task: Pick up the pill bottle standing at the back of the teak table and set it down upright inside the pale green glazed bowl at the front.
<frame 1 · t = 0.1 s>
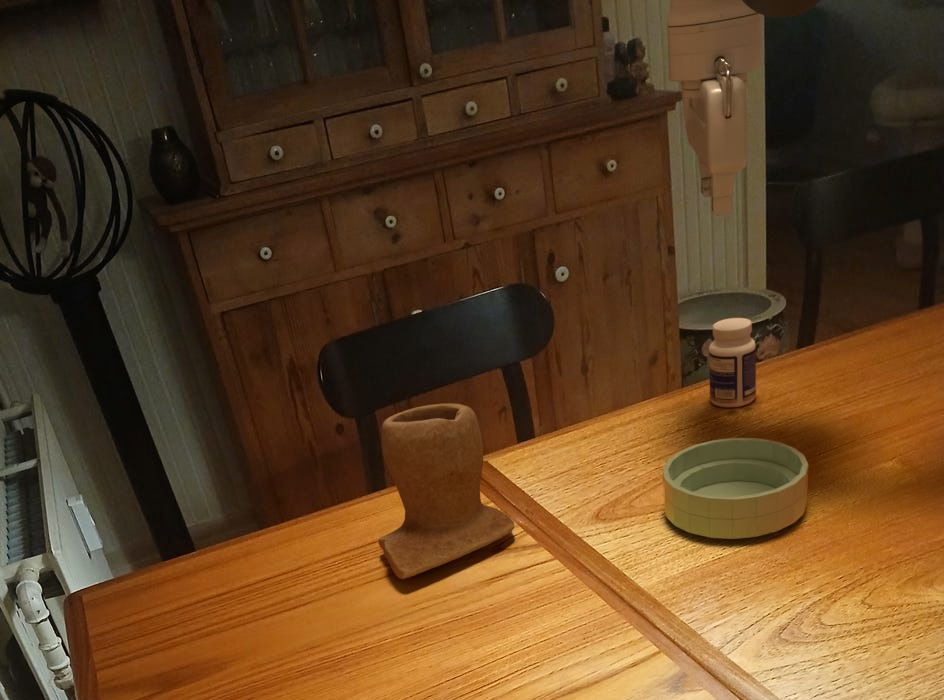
hand: (715, 204, 104), 26 cm above the table, tool pointing down, fingers open, 8 cm apart
pill bottle: (732, 401, 127), on the table
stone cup: (442, 548, 106), on the table
bowl: (734, 510, 103), on the table
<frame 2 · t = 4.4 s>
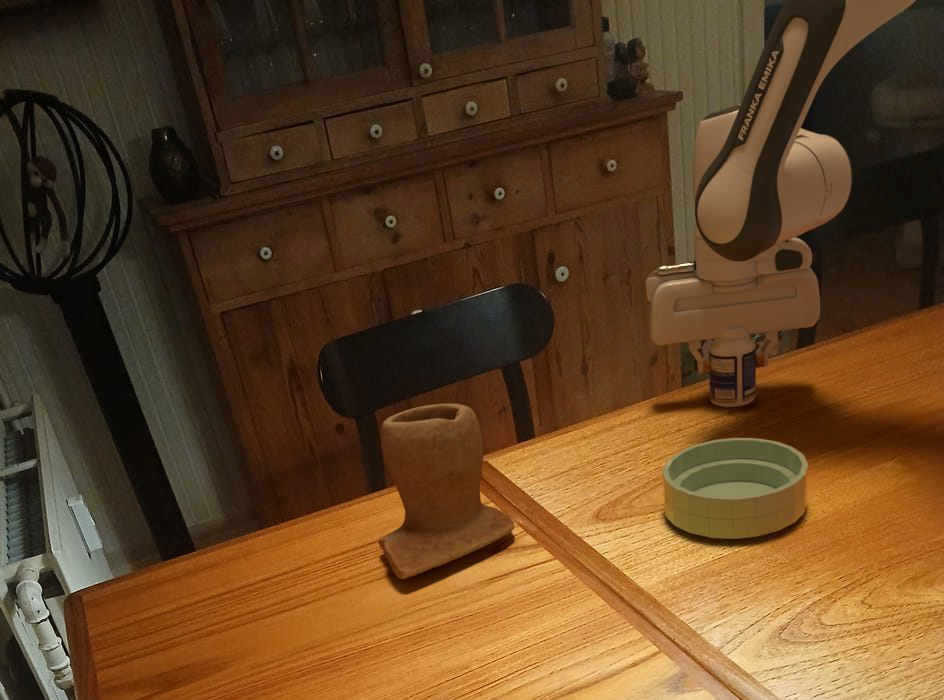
hand: (732, 369, 125), 4 cm above the table, tool pointing down, fingers closed on pill bottle, 6 cm apart
pill bottle: (732, 401, 127), on the table, touching gripper
everything else where it was.
when the fingers open (5 cm above the table, at t = 13.1 s): pill bottle stays where it is, resting on bowl.
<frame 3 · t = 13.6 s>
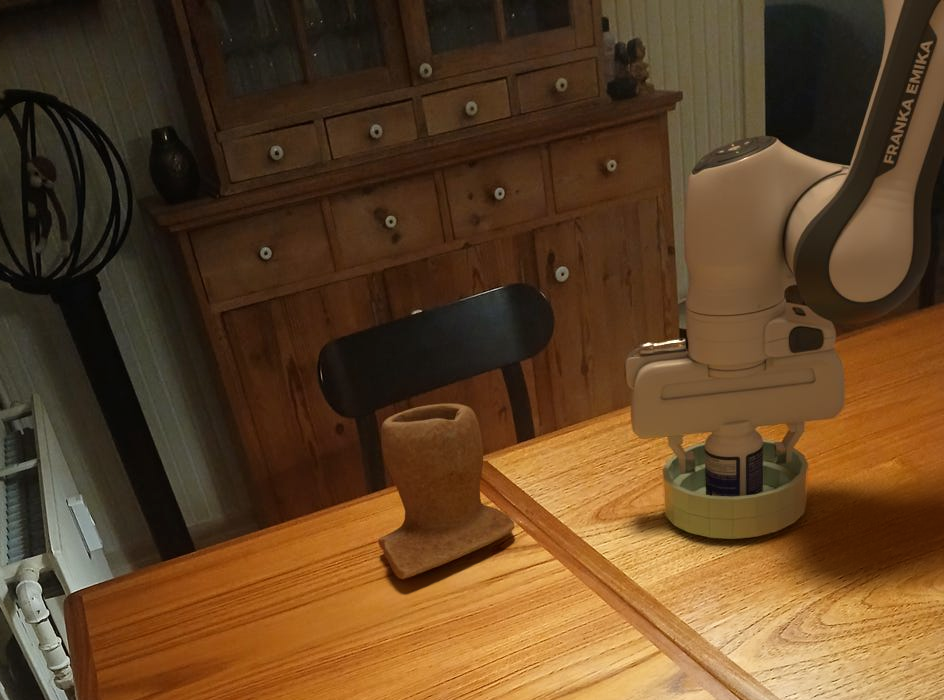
hand: (734, 466, 100), 5 cm above the table, tool pointing down, fingers open, 8 cm apart
pill bottle: (733, 506, 103), resting on bowl
everything else where it was.
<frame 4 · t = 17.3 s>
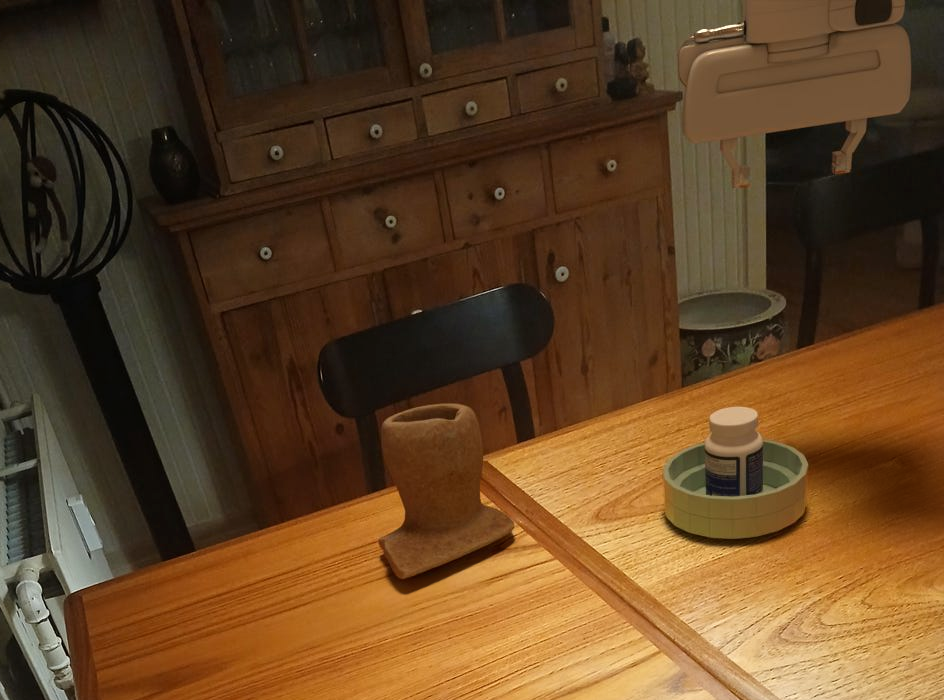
hand: (790, 179, 96), 29 cm above the table, tool pointing down, fingers open, 8 cm apart
nothing on the table moved.
at the end: pill bottle 0.0 cm off-centre in the bowl, point 0.4 cm above the bowl's base; pill bottle tilted 0°; the gripper is holding nothing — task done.
